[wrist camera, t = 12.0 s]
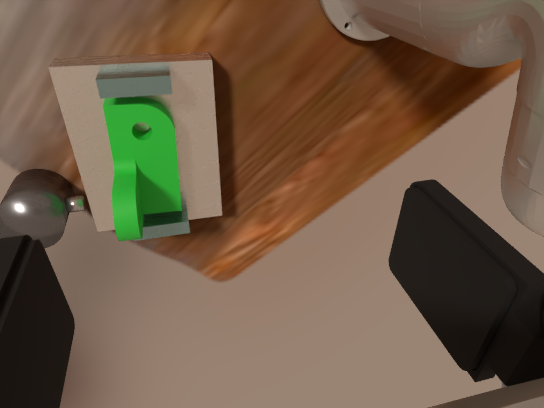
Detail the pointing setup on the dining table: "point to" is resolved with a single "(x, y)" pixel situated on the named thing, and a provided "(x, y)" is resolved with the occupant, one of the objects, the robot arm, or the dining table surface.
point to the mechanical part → (141, 163)
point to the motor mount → (97, 152)
